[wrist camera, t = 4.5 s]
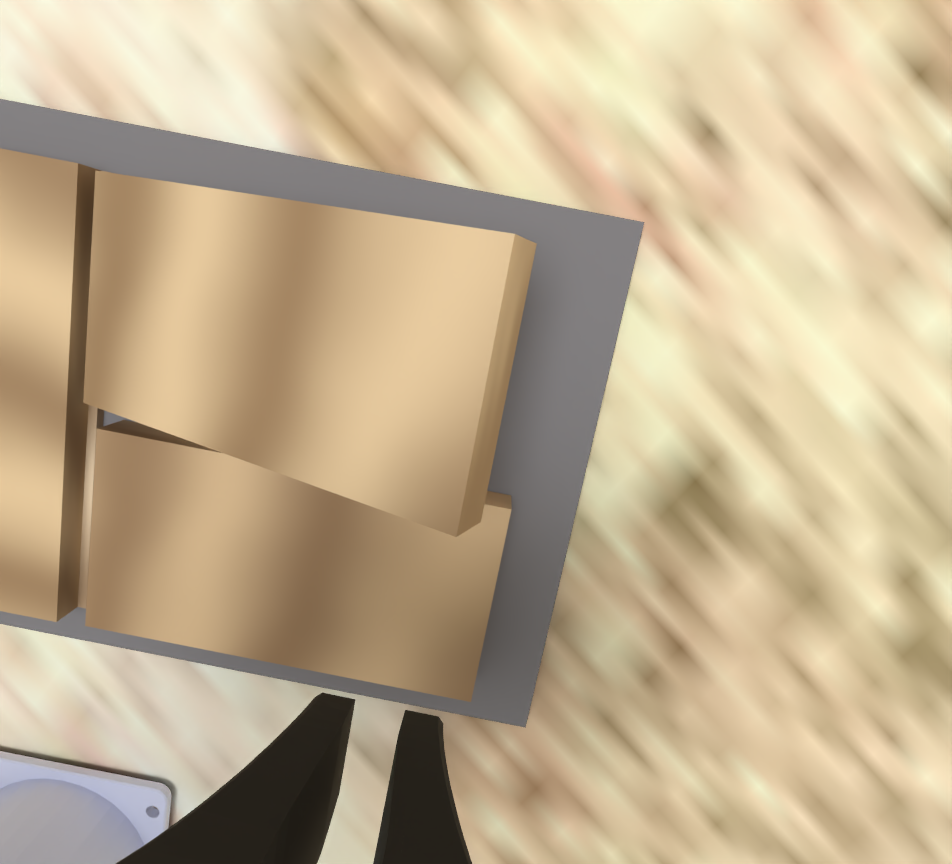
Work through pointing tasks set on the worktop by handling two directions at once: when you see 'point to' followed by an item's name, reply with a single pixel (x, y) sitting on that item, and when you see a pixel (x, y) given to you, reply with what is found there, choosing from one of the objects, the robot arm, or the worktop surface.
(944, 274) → the worktop surface
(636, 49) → the worktop surface
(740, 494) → the worktop surface
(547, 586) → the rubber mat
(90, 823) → the robot arm
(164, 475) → the oak plank
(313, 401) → the oak plank
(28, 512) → the oak panel
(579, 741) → the worktop surface
